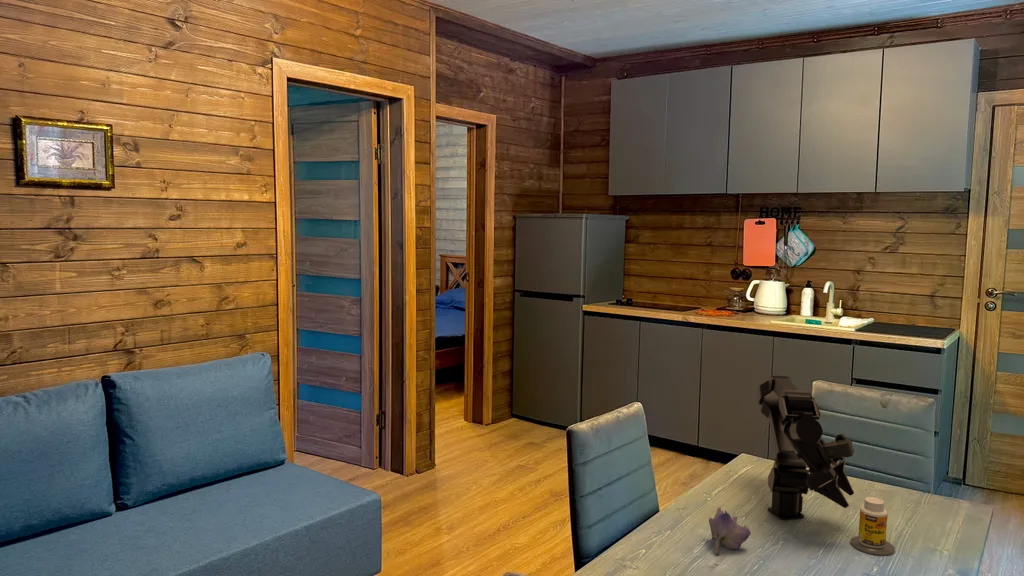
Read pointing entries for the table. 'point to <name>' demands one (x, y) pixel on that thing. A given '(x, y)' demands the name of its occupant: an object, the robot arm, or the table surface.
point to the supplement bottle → (872, 523)
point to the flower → (727, 531)
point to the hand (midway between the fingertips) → (849, 500)
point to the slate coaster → (883, 551)
